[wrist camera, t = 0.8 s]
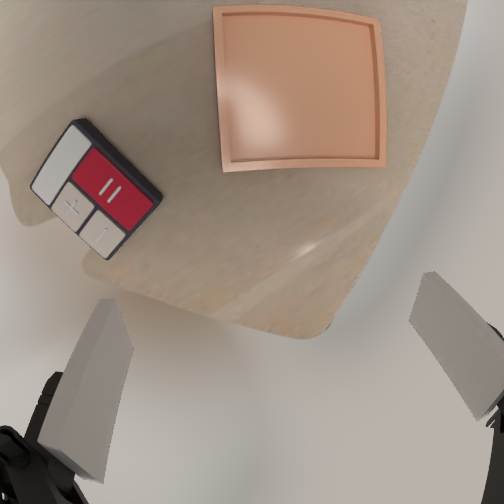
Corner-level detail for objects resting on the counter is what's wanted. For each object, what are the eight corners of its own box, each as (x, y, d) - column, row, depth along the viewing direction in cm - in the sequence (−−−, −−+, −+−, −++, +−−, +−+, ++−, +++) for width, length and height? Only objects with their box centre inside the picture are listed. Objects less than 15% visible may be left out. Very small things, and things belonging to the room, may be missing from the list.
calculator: (105, 265, 33) (25, 189, 27) (114, 249, 37) (41, 180, 31) (159, 205, 31) (70, 118, 24) (165, 194, 34) (85, 116, 28)
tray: (213, 12, 24) (212, 6, 22) (372, 23, 25) (379, 19, 24) (222, 169, 33) (222, 172, 31) (378, 164, 34) (385, 167, 32)
